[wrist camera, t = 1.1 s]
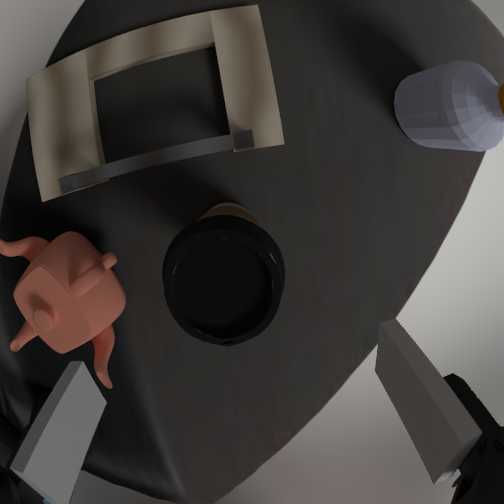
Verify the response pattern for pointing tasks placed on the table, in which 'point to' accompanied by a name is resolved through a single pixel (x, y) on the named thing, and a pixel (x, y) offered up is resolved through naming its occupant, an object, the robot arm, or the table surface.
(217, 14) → the cream rectangular frame
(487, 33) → the table surface
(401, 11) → the table surface
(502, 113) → the spray bottle
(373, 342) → the table surface
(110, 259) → the teapot
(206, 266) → the coffee cup
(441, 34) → the table surface
